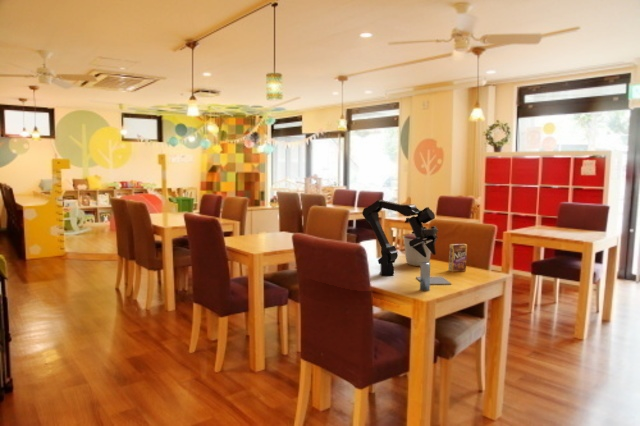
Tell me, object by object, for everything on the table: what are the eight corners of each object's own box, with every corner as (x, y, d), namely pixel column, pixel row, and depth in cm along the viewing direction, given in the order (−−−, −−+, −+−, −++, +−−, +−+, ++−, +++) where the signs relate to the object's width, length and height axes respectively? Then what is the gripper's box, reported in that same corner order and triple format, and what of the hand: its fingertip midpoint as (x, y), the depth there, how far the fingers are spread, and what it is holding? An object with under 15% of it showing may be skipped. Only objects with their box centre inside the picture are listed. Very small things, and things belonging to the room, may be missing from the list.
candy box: (452, 272, 248) (452, 245, 246) (448, 270, 252) (449, 243, 251) (466, 271, 250) (467, 244, 248) (462, 269, 254) (463, 243, 253)
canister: (431, 262, 275) (432, 228, 273) (434, 268, 257) (435, 232, 255) (401, 261, 277) (402, 227, 275) (402, 267, 259) (403, 231, 257)
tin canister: (421, 291, 208) (422, 263, 207) (418, 288, 213) (419, 262, 212) (430, 291, 209) (431, 263, 207) (428, 288, 213) (428, 261, 212)
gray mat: (423, 284, 220) (423, 283, 220) (415, 278, 234) (415, 276, 234) (451, 284, 221) (451, 283, 220) (442, 277, 234) (442, 276, 234)
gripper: (420, 222, 214) (434, 252, 210) (439, 219, 228) (452, 247, 224) (403, 231, 221) (415, 260, 217) (422, 228, 235) (434, 255, 231)
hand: (430, 255), depth 222 cm, fingers open, 9 cm apart
